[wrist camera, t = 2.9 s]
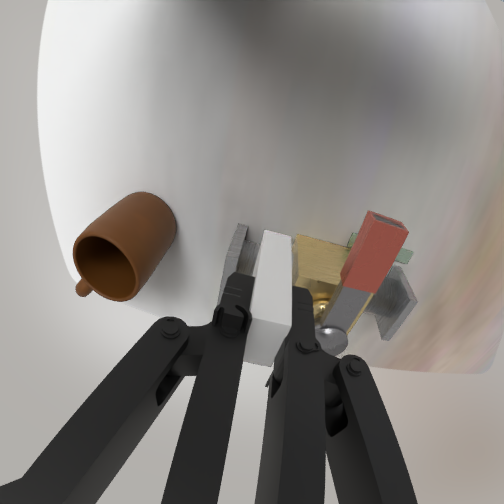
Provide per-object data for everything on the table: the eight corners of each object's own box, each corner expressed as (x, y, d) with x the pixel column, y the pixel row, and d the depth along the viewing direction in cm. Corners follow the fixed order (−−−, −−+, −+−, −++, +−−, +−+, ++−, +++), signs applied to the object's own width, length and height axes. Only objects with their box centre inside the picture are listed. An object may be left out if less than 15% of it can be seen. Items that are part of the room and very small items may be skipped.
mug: (131, 274, 33) (96, 324, 25) (93, 233, 30) (49, 276, 23) (192, 229, 28) (157, 284, 21) (146, 175, 26) (93, 213, 18)
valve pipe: (242, 203, 26) (224, 249, 19) (412, 251, 26) (443, 303, 19) (227, 273, 31) (209, 329, 24) (379, 308, 31) (394, 362, 24)
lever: (360, 207, 16) (367, 218, 14) (406, 223, 16) (415, 235, 14) (297, 340, 23) (297, 354, 21) (335, 346, 23) (336, 360, 21)
